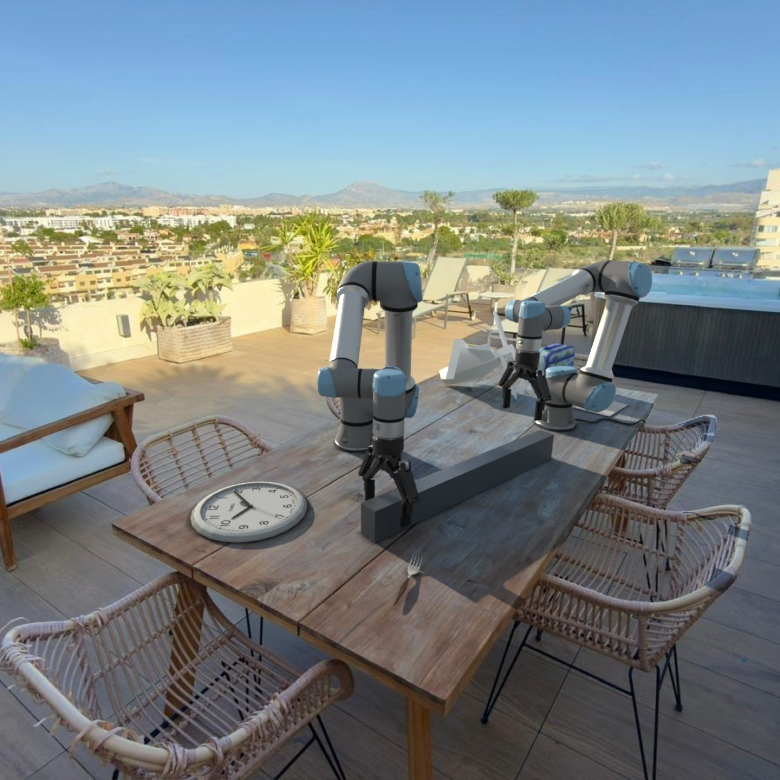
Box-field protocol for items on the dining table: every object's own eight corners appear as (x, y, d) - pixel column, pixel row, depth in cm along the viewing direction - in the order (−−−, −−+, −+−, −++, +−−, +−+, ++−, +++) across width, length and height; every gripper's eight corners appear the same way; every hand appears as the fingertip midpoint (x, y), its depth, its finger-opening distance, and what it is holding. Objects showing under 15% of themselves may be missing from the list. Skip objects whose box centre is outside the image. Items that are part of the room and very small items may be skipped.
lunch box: (547, 395, 239) (552, 351, 233) (526, 390, 247) (530, 347, 240) (574, 384, 257) (579, 343, 251) (554, 380, 264) (558, 339, 258)
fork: (388, 605, 105) (388, 597, 104) (412, 560, 119) (412, 553, 119) (400, 609, 104) (400, 600, 104) (423, 563, 119) (423, 555, 118)
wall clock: (302, 534, 126) (174, 538, 123) (303, 540, 126) (175, 544, 124) (310, 477, 154) (206, 479, 152) (310, 482, 155) (206, 484, 152)
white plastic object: (461, 429, 252) (437, 405, 227) (444, 352, 274) (420, 323, 250) (535, 404, 240) (518, 377, 215) (510, 326, 262) (492, 293, 237)
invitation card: (608, 416, 214) (573, 407, 224) (608, 416, 214) (573, 408, 224) (628, 404, 229) (594, 396, 238) (628, 405, 229) (594, 397, 238)
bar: (537, 453, 178) (540, 429, 176) (551, 458, 175) (554, 434, 172) (360, 533, 130) (360, 502, 127) (374, 543, 126) (374, 511, 124)
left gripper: (344, 424, 131) (345, 500, 137) (413, 455, 113) (410, 541, 119) (367, 417, 136) (367, 491, 142) (437, 446, 118) (433, 529, 124)
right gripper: (491, 344, 173) (486, 405, 179) (552, 360, 153) (544, 427, 159) (507, 342, 177) (501, 401, 183) (568, 357, 157) (560, 423, 164)
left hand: (386, 514), depth 130 cm, fingers open, 13 cm apart
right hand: (521, 413), depth 171 cm, fingers open, 13 cm apart
